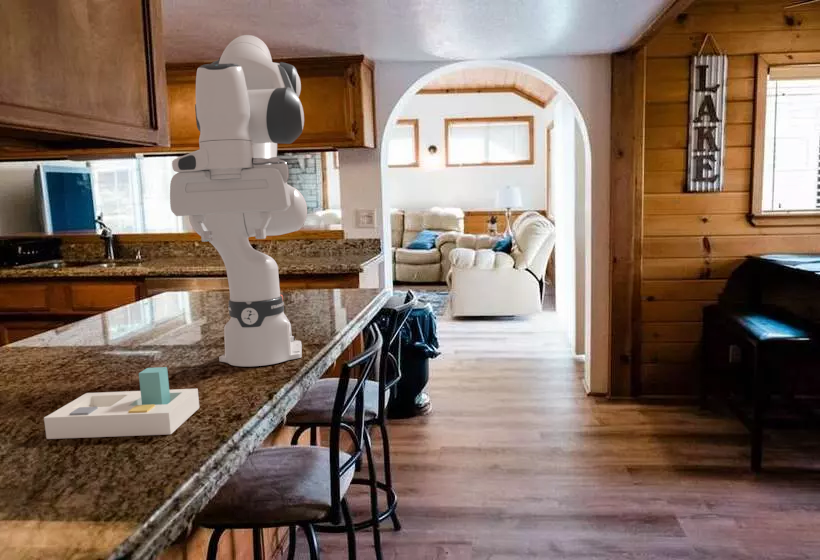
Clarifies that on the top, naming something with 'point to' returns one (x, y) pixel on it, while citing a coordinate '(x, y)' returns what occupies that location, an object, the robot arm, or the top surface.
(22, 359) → the top surface
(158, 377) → the plug
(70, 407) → the socket block
